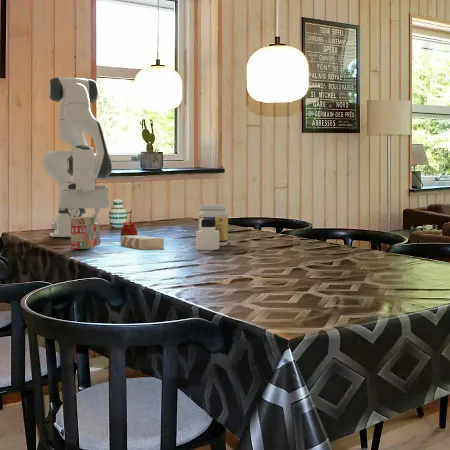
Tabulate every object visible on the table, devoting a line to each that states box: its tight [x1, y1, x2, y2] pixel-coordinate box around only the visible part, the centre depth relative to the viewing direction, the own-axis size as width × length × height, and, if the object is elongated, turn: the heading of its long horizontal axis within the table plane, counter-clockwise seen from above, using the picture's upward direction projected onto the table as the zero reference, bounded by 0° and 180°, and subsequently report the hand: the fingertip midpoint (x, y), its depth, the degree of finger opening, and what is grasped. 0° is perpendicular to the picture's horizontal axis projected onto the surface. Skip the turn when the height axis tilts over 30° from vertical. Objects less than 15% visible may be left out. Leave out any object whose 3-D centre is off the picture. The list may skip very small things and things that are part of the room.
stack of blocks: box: [70, 216, 101, 250], centre depth 264 cm, size 21×6×12 cm, turn 176°
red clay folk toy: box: [120, 208, 138, 237], centre depth 284 cm, size 8×7×15 cm
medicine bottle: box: [195, 218, 220, 251], centre depth 251 cm, size 7×7×12 cm
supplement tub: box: [198, 204, 229, 247], centre depth 268 cm, size 12×12×17 cm
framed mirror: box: [120, 234, 165, 251], centre depth 262 cm, size 23×9×4 cm, turn 30°
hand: (84, 219), depth 265 cm, fingers open, 7 cm apart
